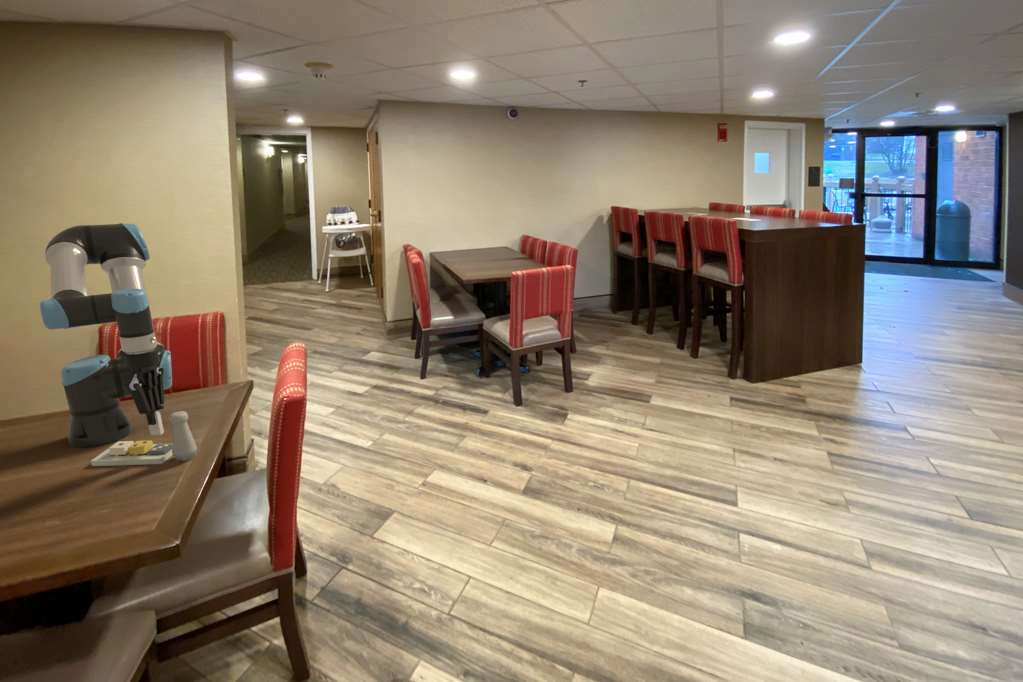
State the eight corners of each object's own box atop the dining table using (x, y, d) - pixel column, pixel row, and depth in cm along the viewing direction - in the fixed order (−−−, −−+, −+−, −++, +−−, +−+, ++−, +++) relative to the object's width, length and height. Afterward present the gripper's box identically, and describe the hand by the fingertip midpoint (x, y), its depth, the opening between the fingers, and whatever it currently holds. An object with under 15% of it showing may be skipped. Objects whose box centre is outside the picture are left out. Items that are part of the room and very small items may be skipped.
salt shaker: (187, 464, 147) (178, 418, 144) (168, 462, 148) (159, 416, 145) (203, 453, 153) (195, 409, 149) (184, 452, 154) (176, 408, 150)
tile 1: (110, 455, 149) (108, 447, 148) (119, 448, 153) (118, 441, 152) (125, 454, 149) (124, 447, 149) (134, 447, 153) (133, 440, 152)
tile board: (91, 466, 147) (90, 461, 147) (113, 450, 156) (112, 445, 155) (162, 463, 148) (161, 458, 147) (180, 448, 156) (179, 443, 156)
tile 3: (149, 457, 150) (148, 450, 149) (158, 451, 154) (156, 443, 153) (165, 457, 150) (163, 450, 149) (173, 450, 154) (171, 443, 153)
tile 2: (129, 454, 149) (128, 447, 149) (138, 447, 153) (137, 440, 152) (145, 453, 149) (143, 446, 149) (153, 447, 153) (152, 439, 153)
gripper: (140, 357, 138) (158, 444, 144) (169, 342, 150) (184, 423, 157) (108, 358, 137) (128, 445, 144) (140, 342, 150) (156, 423, 157)
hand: (157, 433), depth 150 cm, fingers closed
